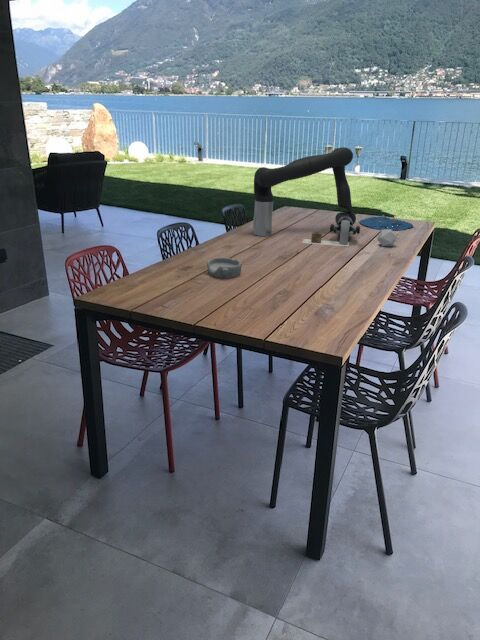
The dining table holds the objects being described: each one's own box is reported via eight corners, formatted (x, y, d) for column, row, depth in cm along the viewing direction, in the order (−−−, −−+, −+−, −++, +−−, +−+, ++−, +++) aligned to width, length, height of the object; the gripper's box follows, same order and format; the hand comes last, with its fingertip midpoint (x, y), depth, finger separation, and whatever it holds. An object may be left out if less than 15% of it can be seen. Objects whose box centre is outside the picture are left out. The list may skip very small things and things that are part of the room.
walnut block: (311, 242, 256) (311, 233, 254) (311, 240, 260) (312, 231, 258) (320, 243, 255) (321, 234, 253) (321, 241, 259) (321, 232, 257)
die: (393, 250, 255) (402, 232, 256) (378, 241, 254) (388, 223, 254) (385, 251, 263) (394, 235, 264) (371, 243, 262) (380, 226, 262)
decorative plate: (419, 234, 292) (421, 225, 290) (365, 232, 292) (366, 222, 290) (405, 221, 319) (406, 212, 317) (355, 218, 319) (356, 210, 317)
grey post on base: (301, 244, 255) (303, 219, 250) (303, 240, 262) (305, 216, 258) (348, 248, 251) (351, 223, 247) (348, 244, 259) (351, 219, 254)
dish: (229, 281, 203) (229, 268, 201) (199, 274, 209) (199, 262, 207) (248, 272, 214) (249, 260, 212) (220, 266, 221) (220, 254, 219)
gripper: (331, 216, 266) (330, 223, 251) (360, 218, 264) (360, 225, 249) (330, 231, 269) (328, 238, 254) (358, 233, 266) (359, 241, 252)
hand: (344, 232), depth 252 cm, fingers open, 8 cm apart
